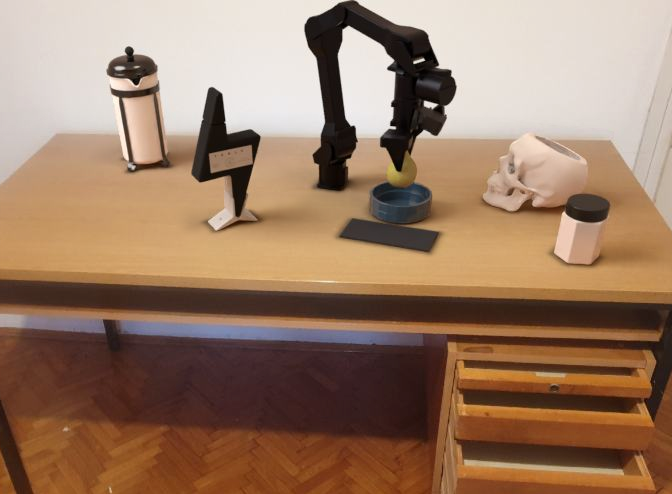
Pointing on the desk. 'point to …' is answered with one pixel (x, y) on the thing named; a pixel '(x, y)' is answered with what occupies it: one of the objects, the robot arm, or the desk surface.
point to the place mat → (389, 234)
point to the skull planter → (536, 174)
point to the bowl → (400, 202)
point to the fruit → (403, 173)
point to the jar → (582, 228)
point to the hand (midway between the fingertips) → (402, 165)
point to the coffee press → (138, 109)
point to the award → (225, 160)
